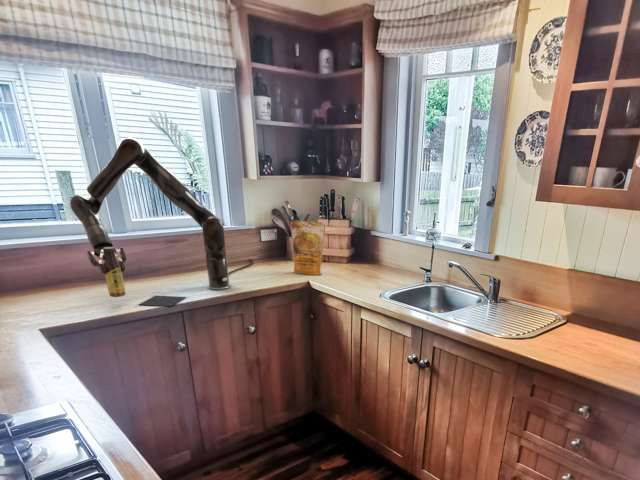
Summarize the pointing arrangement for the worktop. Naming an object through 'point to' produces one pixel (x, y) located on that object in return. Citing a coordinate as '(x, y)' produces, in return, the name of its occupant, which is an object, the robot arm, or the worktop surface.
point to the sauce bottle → (113, 273)
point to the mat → (162, 301)
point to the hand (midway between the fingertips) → (114, 271)
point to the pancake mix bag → (307, 246)
